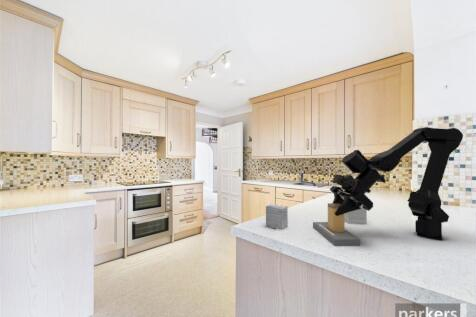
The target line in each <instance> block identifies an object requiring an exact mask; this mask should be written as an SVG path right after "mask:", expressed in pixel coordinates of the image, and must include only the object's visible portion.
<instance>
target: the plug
mask: <svg viewBox="0 0 476 317" xmlns="http://www.w3.org/2000/svg"><path fill="white" fill-rule="evenodd" d="M340 206H341V204H339V203H333V202H332V203H328V202H327V222H328V229H329V230H330V231H332V232H344V229H345V220H344V214H342V215H339V216H336V215H335V212H336V211H337V209H338V208H339V207H340Z"/></svg>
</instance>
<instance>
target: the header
mask: <svg viewBox="0 0 476 317" xmlns="http://www.w3.org/2000/svg"><path fill="white" fill-rule="evenodd" d="M312 227H313V229H314V230H316V231H317V232H318V233H319V234H320V235H321V236H322V237H324V238H325V239H326V240H327V241H328V242H330V243H331V245H333V246H334V247H361V239H360V238H359V237H358V236H356V235H354V234H353V233H350V232H349V231H348V230H347V229H345V228H344V232H332V231H330V230H329V229H328V221H313V222H312Z"/></svg>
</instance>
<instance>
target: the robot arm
mask: <svg viewBox="0 0 476 317" xmlns="http://www.w3.org/2000/svg"><path fill="white" fill-rule="evenodd" d="M463 137H464V134H463V133H462V131H460V129H458V128H457V127H451V128H437V127H436V128H435V127H428V126H425V127H420V128H415V129H414V130H412V132H411V133H409V134H408V135H407V136H406V137H404V138H403V139H402V140H400V141H399V142H397V143H396V144H395V145H393V146H391V147H390V148H389V149H388V150H385V151H384V150H383V151H382V152H379V153H377V154H375V155H373V156H372V157H371V156H370V158H369V159H367V158H366V157H365V155H364V154H363V153H362V152H361V151H360V150H359V149H354V150H353V151H352V152H350V153H348V154H347V155H345V156H344V157H343V158H341V159H342V160H341V162H342V163H343V165H344V166H345V167H346V168H348V170H349V171H350V172H351V173H352V174H358V175H357V176H356V177H355V178H354V176H353V175H350V174H345V175H342V174H334V177H333V178H332V181H331V183H333V184H336V185H337V186H336V185H332V186H331V187H330V188H329V191H330V192H331V193H333V196H334V198H333V201H332V203H339V204H341V206H340V207H339V208H338V209H337V211H336V212H335V215H336V216H339V215H342V214H345V213H348V212H351V211H355V210H358V209H359V210H360V209H361V208H360V206H361V205H363V208H364V209H365V210H367V212H368V211H369V212H370V210H372V209H373V207H374V202H373V201H372V200H371V199H370V198H369V197H368V196H367V195H366V193H367V194H370V193H371V192H372V190H371V188H373V186H374V185H375V184H376V183H377V182H378V183H386V177H385V174H381V173H379V172H386V173H387V172H388V173H389V172H392V171H393V170H395V169H396V168H397V166H398V165H399V164H400V161H401V159H402V158H403V157H405V156H406V155H408V153H410V152H412V150H414V149H416V148H417V147H418V146H419V145H421V144H423V142H426V143H427V146H428V147H429V150H430V155H429V158H428V160H427V164H426V167H425V171H424V173H423V177H422V179H421V182H420V187H419V188H418V189H417V190H416V191H413V190H411V191H410V193H409V197H408V199H407V200H406V201H407V202H408V204H407V205H408V207H409V210H410V212H411V214H412V216H414V217H417V219H415V221H414V222H415V223H414V224H415V233H416V235H417V236H418V237H423V238H428V239H434V240H438V241H439V240H440V241H443V232H442V229H443V228H442V227H443V226H442V225H443V223H448V222H449V218H450V216H449V214H448V213H447V212H446V211H445V210H444V209H443V208H442V199H441V197H440V195H439V190H440V188H441V185H442V181H443V178H444V175H445V171H446V168H447V165H448V162H449V158H450V155H451V154H452V153H454V151H456V150H457V149H458V148H459V147H460V145H461V143H462V141H463Z"/></svg>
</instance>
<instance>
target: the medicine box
mask: <svg viewBox="0 0 476 317" xmlns="http://www.w3.org/2000/svg"><path fill="white" fill-rule="evenodd" d="M288 217H289V216H288V206H283V205H278V204H268V205H266V206H265V226H266V227H268V228H272V229H276V230H277V229H278V230H283V231H284V230H285V229H288V227H289V225H288V224H289V223H288V222H289V221H288V220H289V218H288Z"/></svg>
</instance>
